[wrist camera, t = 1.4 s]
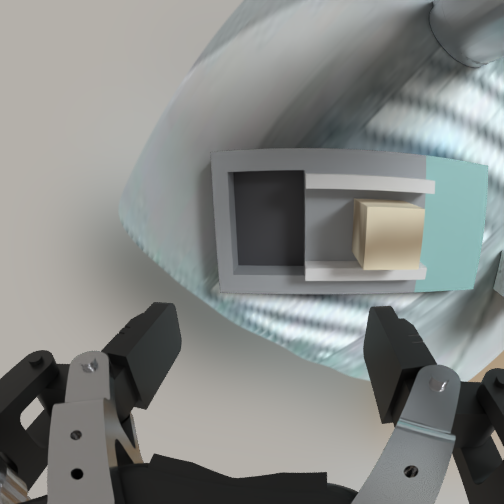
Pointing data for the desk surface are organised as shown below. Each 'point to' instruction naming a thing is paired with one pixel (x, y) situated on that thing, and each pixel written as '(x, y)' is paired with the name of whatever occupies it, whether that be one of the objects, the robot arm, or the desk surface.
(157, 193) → the desk surface
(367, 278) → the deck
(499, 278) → the small box
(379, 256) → the block
